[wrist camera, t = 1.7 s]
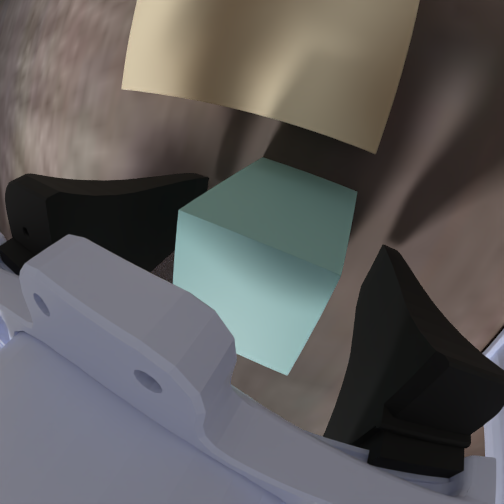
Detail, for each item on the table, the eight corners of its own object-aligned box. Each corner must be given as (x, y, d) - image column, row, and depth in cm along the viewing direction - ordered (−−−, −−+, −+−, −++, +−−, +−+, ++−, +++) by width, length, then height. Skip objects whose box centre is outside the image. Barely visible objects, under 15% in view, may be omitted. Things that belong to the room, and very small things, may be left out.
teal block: (357, 191, 11) (341, 275, 6) (324, 271, 13) (287, 375, 9) (262, 157, 12) (178, 209, 7) (243, 238, 14) (171, 321, 9)
